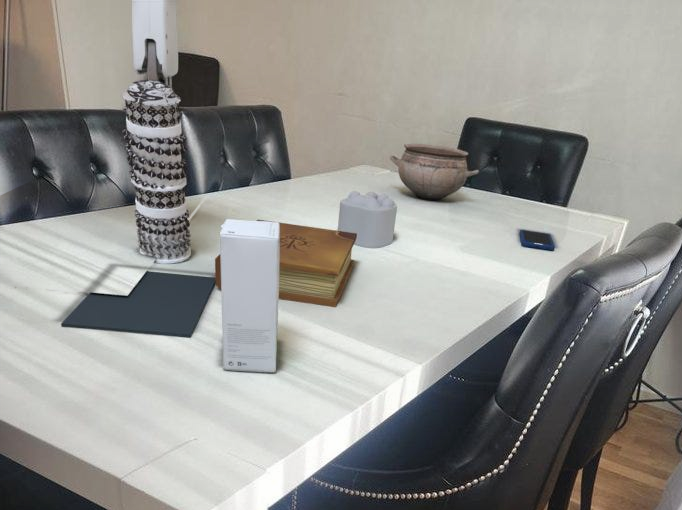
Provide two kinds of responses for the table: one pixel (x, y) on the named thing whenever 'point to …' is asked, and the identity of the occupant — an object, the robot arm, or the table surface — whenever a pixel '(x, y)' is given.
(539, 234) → the cell phone
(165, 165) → the decorative tower
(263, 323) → the cosmetic box
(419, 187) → the cooking pot
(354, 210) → the lumpy-topped squat cylinder
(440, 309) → the table surface
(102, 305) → the mat
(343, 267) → the diary
